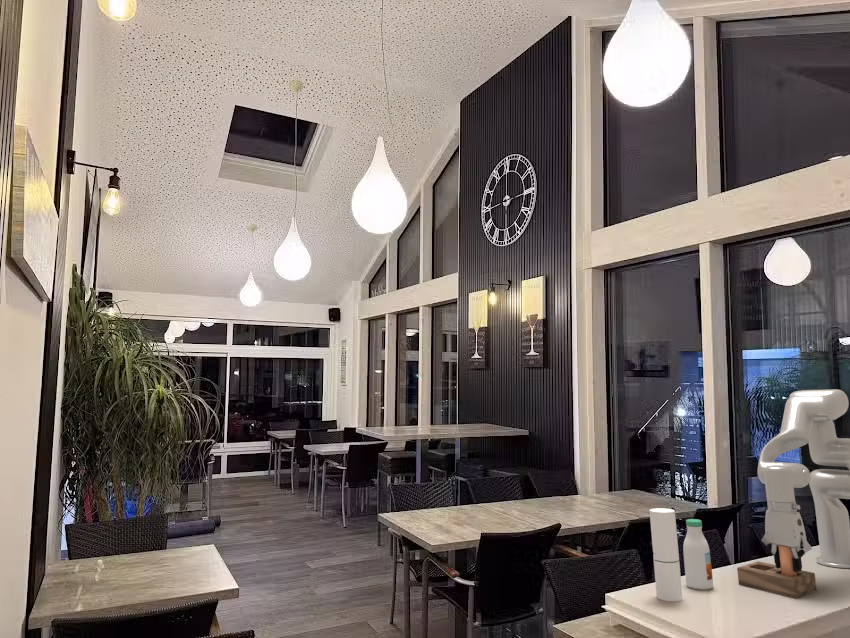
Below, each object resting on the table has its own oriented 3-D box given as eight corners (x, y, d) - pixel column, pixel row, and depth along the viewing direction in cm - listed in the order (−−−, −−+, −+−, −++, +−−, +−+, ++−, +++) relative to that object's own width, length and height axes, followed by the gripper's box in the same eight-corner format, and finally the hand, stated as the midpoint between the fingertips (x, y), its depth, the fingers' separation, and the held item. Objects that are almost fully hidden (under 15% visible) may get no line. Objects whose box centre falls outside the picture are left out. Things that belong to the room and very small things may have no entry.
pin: (787, 584, 183) (782, 543, 185) (801, 587, 180) (796, 545, 181) (780, 586, 181) (775, 545, 183) (793, 590, 178) (789, 547, 179)
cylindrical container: (678, 593, 181) (670, 508, 185) (685, 601, 174) (678, 512, 178) (653, 593, 182) (646, 508, 185) (660, 601, 175) (653, 512, 178)
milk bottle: (702, 591, 182) (695, 523, 185) (680, 585, 189) (675, 519, 192) (718, 587, 186) (712, 520, 188) (697, 581, 192) (691, 516, 195)
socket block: (760, 577, 194) (758, 561, 195) (816, 590, 180) (814, 572, 180) (738, 584, 188) (737, 567, 189) (795, 598, 173) (793, 580, 174)
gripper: (817, 509, 178) (825, 573, 176) (761, 502, 193) (767, 561, 190) (804, 512, 175) (812, 578, 172) (747, 504, 189) (754, 565, 186)
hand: (788, 568), depth 181 cm, fingers open, 4 cm apart
